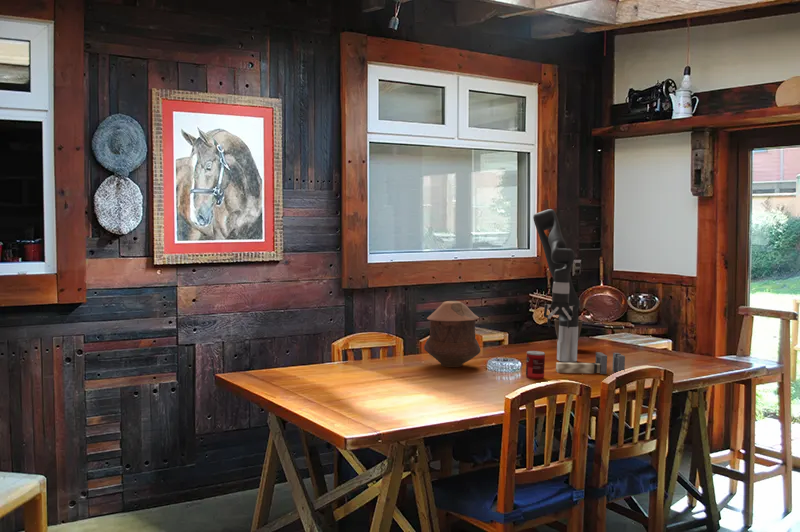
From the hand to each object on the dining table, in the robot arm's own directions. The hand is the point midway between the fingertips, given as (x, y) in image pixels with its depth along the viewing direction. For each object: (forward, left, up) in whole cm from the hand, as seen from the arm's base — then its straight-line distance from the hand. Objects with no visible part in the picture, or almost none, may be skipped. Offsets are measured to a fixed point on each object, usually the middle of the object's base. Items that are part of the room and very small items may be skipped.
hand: (558, 327), depth 353 cm
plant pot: (+20, +63, -20) cm, 69 cm away
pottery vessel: (-48, +4, -20) cm, 52 cm away
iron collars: (+23, -4, -20) cm, 30 cm away
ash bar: (+9, -4, -20) cm, 22 cm away
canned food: (-14, -19, -20) cm, 31 cm away
